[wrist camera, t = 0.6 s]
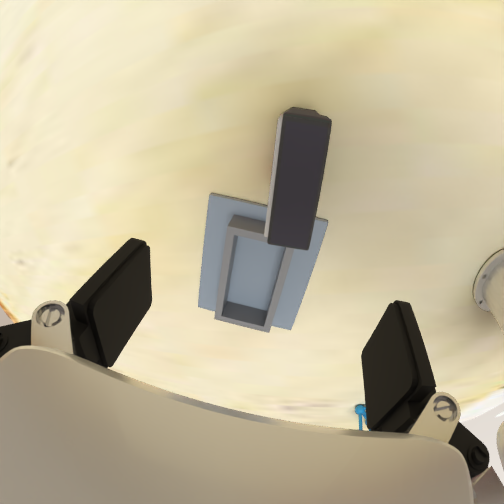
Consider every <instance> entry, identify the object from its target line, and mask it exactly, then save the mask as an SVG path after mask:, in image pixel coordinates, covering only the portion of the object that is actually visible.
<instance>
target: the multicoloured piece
mask: <svg viewBox="0 0 504 504" xmlns="http://www.w3.org/2000/svg"><path fill="white" fill-rule="evenodd" d="M331 124H332V121H331V119H329V118H328V117H327V116H323V115H319V114H318V113H317V112H316V111H315V110H309V109H303V108H296V107H292V108H290V109H289V110H287V111H285V112H283V113H282V114H280V117H279V118H278V123H277V131H276V140H275V149H274V157H273V166H272V174H271V183H270V191H269V199H268V207H267V216H266V224H265V232H264V236H265V237H268V239H267V243H268V244H270V245H276V246H282V247H288V248H294V249H300V250H309V246H310V242H311V237H312V232H313V227H314V222H315V217H316V212H317V207H318V201H319V196H320V191H321V185H322V180H323V174H324V168H325V162H326V156H327V150H328V144H329V138H330V131H331Z"/></svg>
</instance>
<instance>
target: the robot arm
mask: <svg viewBox="0 0 504 504" xmlns="http://www.w3.org/2000/svg"><path fill="white" fill-rule="evenodd" d="M473 294H474V299H475V302H476V303H477V305H478V306H479V307H480V308H481V309H482V310H485V311H491V312H492V314H493V316H494V317H495V319H496V321H497V323H498V325H499V326H500V328H501V330H502V332H503V334H504V249H503V250H501V251H499V252H497V253H496V254H494V255H493V256H492V257H491V258H490V259H489V260H488V261H487V262H486V263H485V264H484V266H483V267H482V268H481V270H480V272H479V274H478V276H477V278H476V280H475V284H474V290H473ZM151 303H152V290H151V268H150V247H149V246H147V244H146V242H145V241H143V240H139V239H135V238H131V239H129V240H128V241H127V242H126V243H125V244H124V245H123V246H122V247H121V248H120V249H119V250H118V251H117V252H116V253H115V254H114V255H113V256H112V257H111V258H109V259H108V260H107V261H106V262H105V263H104V264H103V265H102V266H101V267H100V268H99V269H98V270H97V271H96V272H95V274H94V275H93V276H92V277H91V278H90V279H89V280H88V281H87V282H86V283H85V284H84V285H83V286H82V287H81V288H80V289H79V290H78V291H77V292H76V293H75V294H74V295H73V297H72V298H71V299H70V301H69V302H68V303H67V304H66V305H65V304H64V303H62V302H61V301H56V300H55V301H47V302H44V303H42V304H41V305H39V306H38V307H37V308H36V309H35V310H34V312H33V315H32V320H28V321H23V322H19V323H15V324H10V325H6V326H1V327H0V504H504V486H503V484H502V483H501V481H500V479H499V478H498V476H497V474H496V473H495V471H494V469H493V467H492V466H491V467H489V468H488V464H489V452H488V450H487V448H486V446H485V445H484V444H483V443H482V442H481V441H480V440H479V439H478V438H476V437H475V436H474V435H473V434H472V433H471V432H470V431H469V430H468V429H466V428H465V427H464V426H463V425H462V424H461V423H460V422H459V419H460V415H461V413H460V407H459V404H458V403H457V401H456V399H455V398H454V397H453V396H451V395H450V394H448V393H445V392H437V393H436V390H435V387H436V384H435V380H434V376H433V372H432V369H431V365H430V362H429V359H428V355H427V352H426V349H425V345H424V342H423V339H422V336H421V333H420V330H419V327H418V324H417V321H416V318H415V316H414V313H413V310H412V307H411V305H410V303H408V302H403V301H398V300H396V301H394V303H390V304H389V305H388V307H387V309H386V311H385V313H384V315H383V316H382V318H381V320H380V322H379V323H378V325H377V327H376V329H375V330H374V332H373V334H372V336H371V337H370V339H369V341H368V342H367V344H366V346H365V347H364V349H363V351H362V355H361V359H362V369H363V379H364V391H365V404H366V420H367V428H368V429H370V431H364V430H353V429H342V428H332V427H324V426H316V425H309V424H302V423H296V422H290V421H284V420H279V419H273V418H268V417H263V416H258V415H254V414H249V413H245V412H240V411H236V410H232V409H228V408H224V407H220V406H216V405H213V404H209V403H205V402H202V401H198V400H195V399H192V398H188V397H185V396H182V395H179V394H175V393H172V392H169V391H166V390H163V389H160V388H157V387H155V386H152V385H149V384H146V383H144V382H141V381H138V380H136V379H133V378H130V377H128V376H125V375H123V374H120V373H117V372H115V371H112V370H110V369H107V367H112V366H113V364H114V363H115V361H116V359H117V358H118V356H119V355H120V353H121V351H122V350H123V348H124V347H125V345H126V344H127V342H128V340H129V339H130V337H131V336H132V334H133V333H134V331H135V329H136V328H137V326H138V325H139V323H140V322H141V320H142V319H143V317H144V316H145V314H146V313H147V311H148V310H149V308H150V306H151ZM497 447H498V452H499V456H500V459H501V463H502V466H503V469H504V421H503V422H502V424H501V426H500V427H499V429H498V432H497Z"/></svg>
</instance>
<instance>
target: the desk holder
mask: <svg viewBox="0 0 504 504" xmlns="http://www.w3.org/2000/svg"><path fill="white" fill-rule="evenodd" d="M267 207H268V205H264V204H259V203H255V202H250V201H246V200H242V199H237V198H233V197H228V196H223V195H219V194H214V193H211V194H210V195H209V203H208V211H207V220H206V228H205V238H204V247H203V257H202V267H201V278H200V289H199V301H198V307H200V308H204V309H208V310H211V311H215V318H214V319H217V320H220V321H224V322H228V323H232V324H236V325H240V326H243V327H247V328H252V329H256V330H260V331H264V332H268V333H269V331H270V328H271V326H275V327H279V328H284V329H288V330H291V328H292V326H293V323H294V321H295V318H296V315H297V313H298V310H299V307H300V304H301V302H302V299H303V296H304V293H305V291H306V288H307V285H308V282H309V279H310V276H311V273H312V271H313V268H314V265H315V262H316V259H317V256H318V253H319V250H320V247H321V244H322V241H323V238H324V235H325V231H326V228H327V225H328V220H325V219H321V218H317V217H315V222H314V227H313V232H312V237H311V242H310V246H309V250H300V249H294V248H288V247H282V246H276V245H270V244H268V243H267V239H268V237H265V236H264V232H265V224H266V216H267Z"/></svg>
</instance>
